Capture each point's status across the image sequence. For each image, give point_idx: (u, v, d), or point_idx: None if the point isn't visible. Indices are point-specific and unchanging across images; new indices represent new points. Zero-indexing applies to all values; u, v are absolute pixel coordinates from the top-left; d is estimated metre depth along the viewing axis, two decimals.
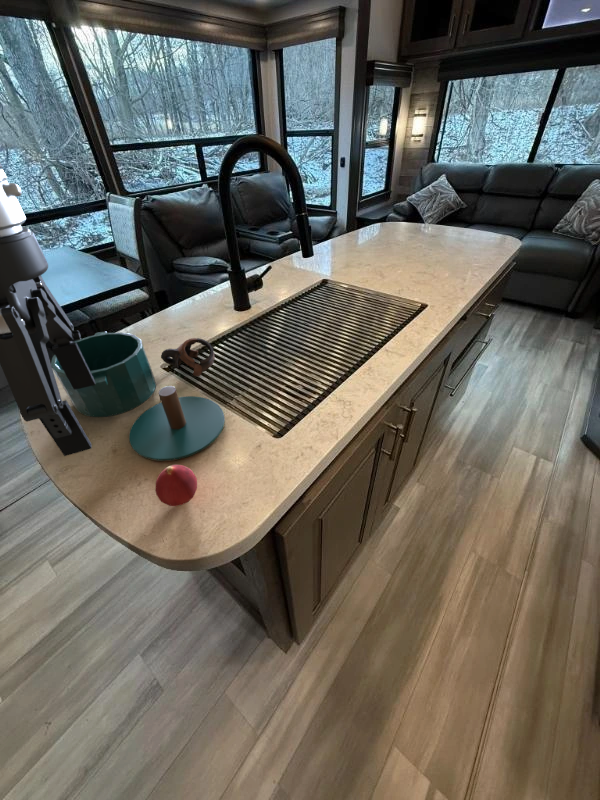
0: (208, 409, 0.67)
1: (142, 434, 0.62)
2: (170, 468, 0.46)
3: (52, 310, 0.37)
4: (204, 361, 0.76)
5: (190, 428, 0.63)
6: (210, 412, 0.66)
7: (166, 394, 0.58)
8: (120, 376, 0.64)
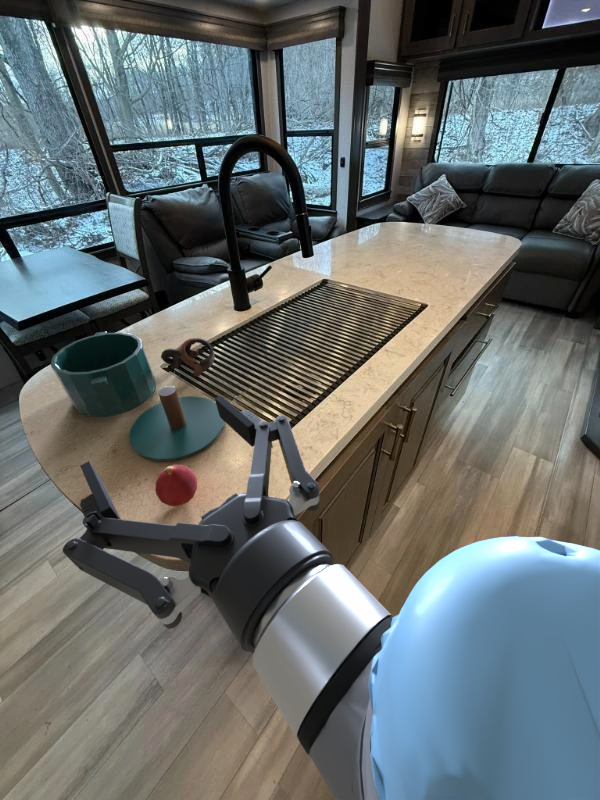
0: (208, 409, 0.67)
1: (142, 434, 0.62)
2: (170, 468, 0.46)
3: None
4: (204, 361, 0.76)
5: (190, 428, 0.63)
6: (210, 412, 0.66)
7: (166, 394, 0.58)
8: (120, 376, 0.64)
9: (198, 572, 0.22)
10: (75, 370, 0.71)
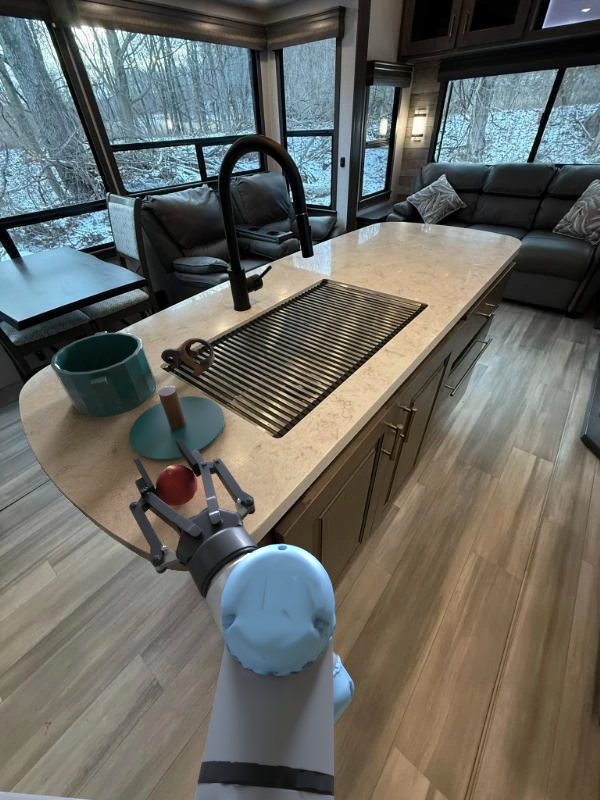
0: (208, 409, 0.67)
1: (142, 434, 0.62)
2: (170, 468, 0.46)
3: None
4: (204, 361, 0.76)
5: (190, 428, 0.63)
6: (210, 412, 0.66)
7: (166, 394, 0.58)
8: (120, 376, 0.64)
9: (180, 551, 0.38)
10: (75, 370, 0.71)
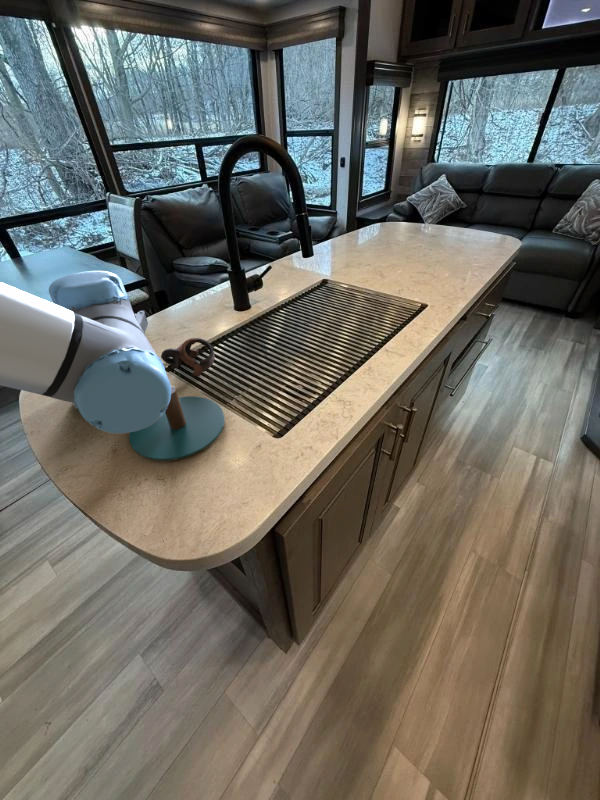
0: (208, 409, 0.67)
1: (142, 434, 0.62)
2: None
3: None
4: (204, 361, 0.76)
5: (190, 428, 0.63)
6: (210, 412, 0.66)
7: None
8: None
9: None
10: None
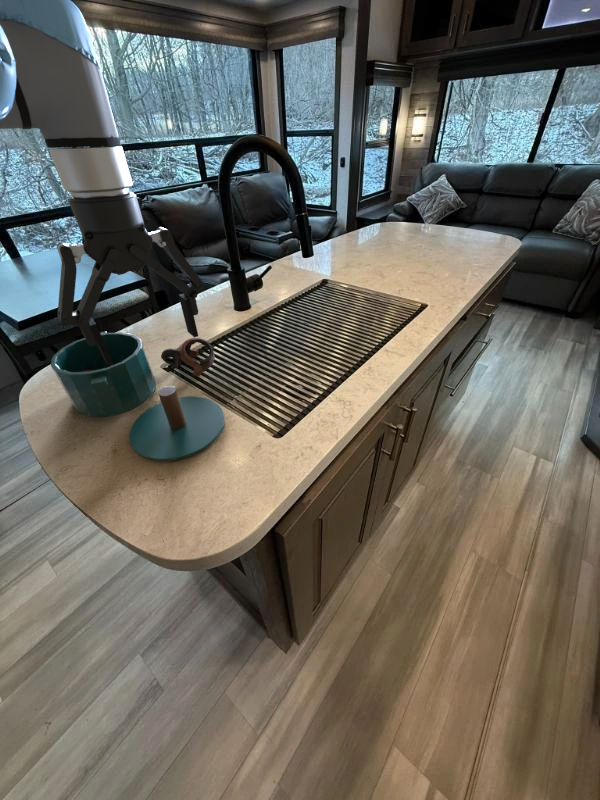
0: (208, 409, 0.67)
1: (142, 434, 0.62)
2: None
3: None
4: (204, 361, 0.76)
5: (190, 428, 0.63)
6: (210, 412, 0.66)
7: (166, 394, 0.58)
8: (120, 376, 0.64)
9: (148, 238, 0.45)
10: (75, 370, 0.71)
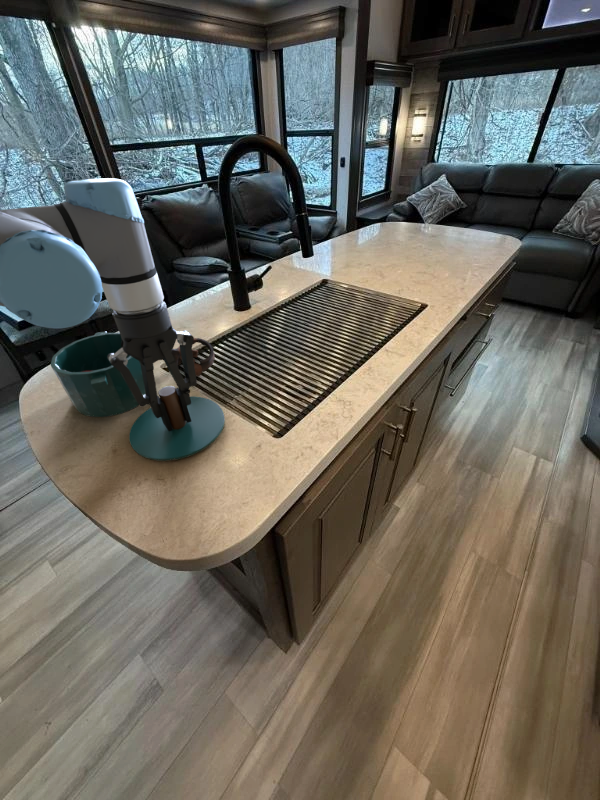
0: (208, 409, 0.67)
1: (142, 434, 0.62)
2: None
3: None
4: (204, 361, 0.76)
5: (190, 428, 0.63)
6: (210, 412, 0.66)
7: (166, 394, 0.58)
8: (120, 376, 0.64)
9: (175, 336, 0.54)
10: (75, 370, 0.71)
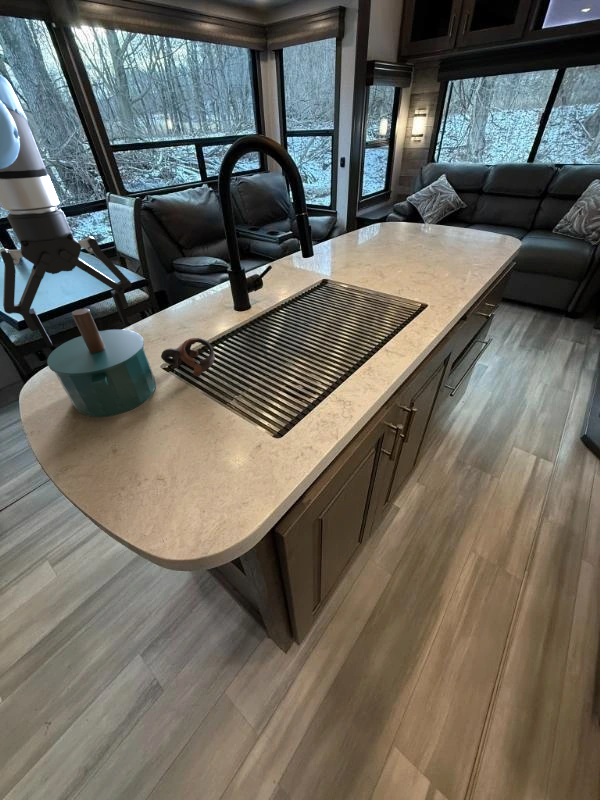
0: (130, 338, 0.70)
1: (61, 356, 0.65)
2: None
3: None
4: (204, 361, 0.76)
5: (107, 352, 0.66)
6: (131, 340, 0.70)
7: (78, 314, 0.61)
8: (120, 376, 0.64)
9: (76, 245, 0.56)
10: None
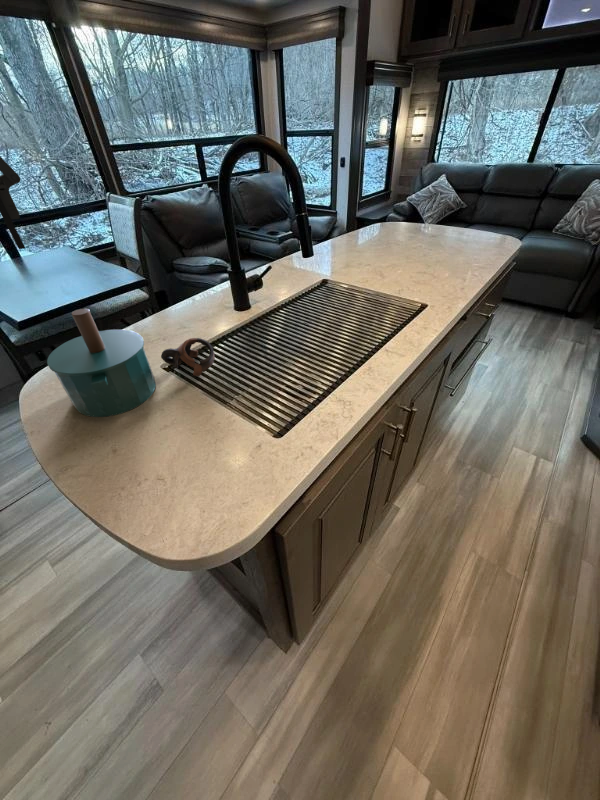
0: (130, 338, 0.70)
1: (61, 356, 0.65)
2: None
3: None
4: (204, 361, 0.76)
5: (107, 352, 0.66)
6: (131, 340, 0.70)
7: (78, 314, 0.61)
8: (120, 376, 0.64)
9: None
10: None
